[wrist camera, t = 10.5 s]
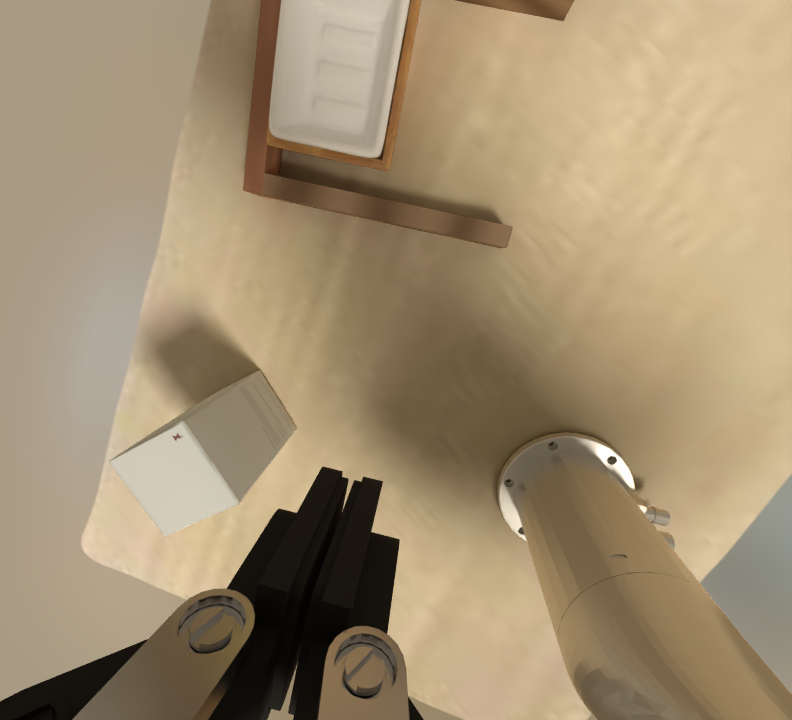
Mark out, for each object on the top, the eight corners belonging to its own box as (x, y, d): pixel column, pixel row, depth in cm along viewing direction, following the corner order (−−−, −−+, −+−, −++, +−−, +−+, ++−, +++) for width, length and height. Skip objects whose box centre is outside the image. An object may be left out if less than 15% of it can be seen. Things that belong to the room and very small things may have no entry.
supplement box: (202, 398, 41) (102, 459, 29) (261, 367, 39) (182, 418, 27) (241, 457, 42) (161, 540, 30) (299, 430, 40) (240, 505, 28)
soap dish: (304, -18, 31) (278, -69, 26) (427, 6, 30) (425, -41, 25) (283, 156, 34) (257, 140, 29) (394, 180, 34) (386, 167, 29)
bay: (634, -76, 28) (750, -271, 17) (535, 255, 34) (578, 256, 24) (294, -137, 29) (214, -354, 18) (259, 195, 35) (184, 170, 25)
